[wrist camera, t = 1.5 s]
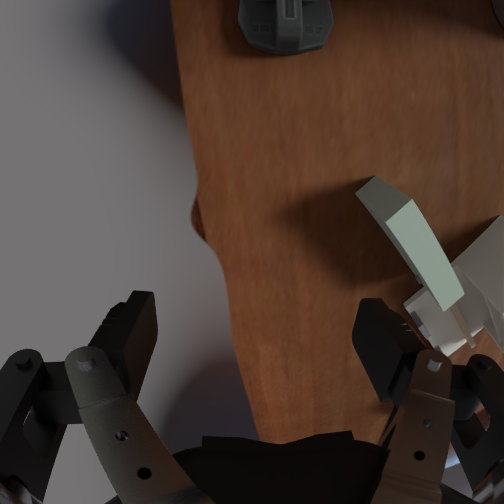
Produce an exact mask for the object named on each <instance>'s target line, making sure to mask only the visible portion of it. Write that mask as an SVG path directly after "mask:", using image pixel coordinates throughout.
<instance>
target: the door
mask: <svg viewBox="0 0 504 504" xmlns="http://www.w3.org/2000/svg"><path fill="white" fill-rule="evenodd" d="M355 194H356V196H357V197H358V198H359V199H360V201H361V202H362V203H363V204H364V206H365V207H366V208H367V210H368V211H369V212H370V213H371V215H372V216H373V217H374V219H375V220H376V221H377V223H378V224H379V225H380V227H381V228H382V229H383V231H384V232H385V233H386V235H387V236H388V237H389V239H390V240H391V242H392V243H393V244H394V246H395V247H396V249H397V250H398V251H399V253H400V254H401V256H402V257H403V259H404V260H405V261H406V263H407V264H408V266H409V267H410V269H411V270H412V272H413V273H414V274H415V275H416V276H415V279H416V280H417V281H418V283H419V284H420V283H422V284H423V285H424V287H425V288H426V289H427V291H428V292H429V293H430V294H431V296H432V297H433V298H434V300H435V301H436V302H437V304H438V305H439V306H440V308H441V309H442V310H443V312H445V311H446V310H447V309H448V308H449V307H450V306H452V305H453V304H454V303H455V302H456V301H457V300H459V299H460V298H461V297H462V296H463V295H464V294H465V293H464V291H463V289H462V287H461V285H460V283H459V281H458V278H457V276H456V274H455V272H454V270H453V269H452V267H451V265H450V263H449V261H448V259H447V257H446V255H445V253H444V252H443V250H442V248H441V246H440V244H439V242H438V241H437V239H436V237H435V235H434V234H433V232H432V230H431V229H430V227H429V225H428V224H427V222H426V220H425V219H424V217H423V215H422V214H421V212H420V211H419V209H418V207H417V206H416V204H415V203H414V201H413V200H412V199H411V198H410V197H408V196H407V195H405V194H404V193H402V192H401V191H399V190H398V189H396V188H394V187H393V186H391V185H390V184H388V183H386V182H385V181H383V180H382V179H380V178H378V177H377V176H374V177H373V178H372V179H371V180H370V181H369V182H367V183H366V184H365V185H364V186H363V187H362V188H360V189H359V190H358V191H357V192H356V193H355Z"/></svg>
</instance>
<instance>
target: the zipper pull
mask: <svg viewBox="0 0 504 504" xmlns="http://www.w3.org/2000/svg"><path fill="white" fill-rule="evenodd" d="M238 23H239V27H240V29H241V30H242V32H243V34H244V36H245V38H246V40H247V42H248V44H249V46H250V47H253V48H256V49H260V50H263V51H267V52H270V53H273V54H292V55H298V54H301V53H305V52H309V51H313V50H318V49H321V48H322V47H323V46H324V44H325V43H326V41H327V39H328V37H329V34H330V32H331V30H332V28H333V25H334V18H333V13H332V9H331V4H330V0H240V4H239V11H238Z"/></svg>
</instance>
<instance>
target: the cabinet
mask: <svg viewBox="0 0 504 504" xmlns="http://www.w3.org/2000/svg"><path fill="white" fill-rule="evenodd" d="M450 265H451V267H452V269H453V270H454V272H455V274H456V276H457V278H458V281H459V283H460V285H461V287H462V289H463V291H464V293H465V294H464V295H463V296H462V297H461V298H460V299H459V300H457V301H456V302H455V303H454V304H453V305H452V306H450V307H449V308H448V309H447V310H446V311H445V312H443V310H442V309H441V308H440V306H439V305H438V304H437V302H436V301H435V300H434V298H433V297H432V296H431V294H430V293H429V292H428V291H427V289H426V288H425V287H423V288H422V289H420V290H419V291H418V292H417V293H415V294H414V295H413V296H412V297H410V298H409V299H408V300H407V301H405V302H404V303H403V305H404V307H405V308H406V310H407V311H408V312H409V314H410V315H411V317H412V319H413V320H414V322H415V324H416V325H417V327H418V329H419V330H420V331H421V333H422V334H423V336H424V337H425V338H426V339H428V340H429V342H430V343H431V345H432V346H433V348H434V349H435V350H437V351H439V352H442V353H443V354H445V355H446V356H447V357H448V356H449V355H450V354H452V353H453V352H454V351H456V350H457V349H458V348H459V347H461V346H462V345H463V344H464V343H466V342H468V343H469V345H470V346H471V348H473V347H474V346H476V344H475V342H474V340H473V338H472V337H473V336H474V335H475V334H476V333H477V332H479V331H480V330H481V329H482V328H483V327H484V328H485V329H486V330H487V332H488V333H489V334H490V336H491V337H492V338H493V340H494V341H495V342H496V344H497V345H498V347H499V348H500V349H501V351H502V352H503V353H504V217H503V216H501V215H500V216H499V217H498V218H497V219H496V220H495V221H494V222H493V223H492V224H491V225H490V226H489V227H488V228H487V229H486V230H485V231H484V232H483V233H482V234H481V235H480V236H479V237H478V238H477V239H476V240H475V241H474V242H473V243H472V244H471V245H470V246H469V247H468V248H467V249H466V250H465V251H464V252H462V253H461V254H460V255H459V256H458V257H457V258H456V259H455V260H454V261H453V262H452V263H450Z"/></svg>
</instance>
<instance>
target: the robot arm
mask: <svg viewBox="0 0 504 504" xmlns="http://www.w3.org/2000/svg"><path fill="white" fill-rule="evenodd" d="M491 1H492V5H493V9H494V11H495V14H496V16H497V18H498V20H499V22H500V24H501V25H502V27H503V28H504V0H491ZM157 335H158V325H157V316H156V307H155V298H154V293H153V292H149V291H133V292H132V293H131V295H130V297H129V299H128V300H127V302H120V303H118V304H117V305H115V306H114V307H113V308H111V309H110V311H109V312H108V314H107V316H106V318H105V319H104V320H103V322H102V325H100V326H99V328H98V330H97V331H96V333H95V335H94V336H93V338H92V339H91V341H90V343H89V344H88V346H84V347H80V348H77V349H75V350H73V351H72V352H70V353H69V354H68V355H67V357H66V359H65V361H62V362H44V361H43V359H42V356H41V354H40V353H39V352H38V351H36V350H32V349H23V350H20V351H17V352H16V353H14V354H13V355H11V356H10V357H9V358H8V360H7V361H6V363H5V364H4V366H3V367H2V369H1V370H0V504H43V499H44V496H45V492H46V489H47V485H48V482H49V478H50V475H51V472H52V468H53V465H54V462H55V459H56V456H57V453H58V450H59V447H60V444H61V441H62V439H63V436H64V433H65V430H66V427H67V425H68V424H84V426H85V429H86V431H87V434H88V436H89V438H90V441H91V443H92V445H93V447H94V450H95V452H96V454H97V456H98V458H99V460H100V462H101V464H102V466H103V469H104V470H105V472H106V474H107V476H108V478H109V480H110V482H111V484H112V486H113V488H114V489H115V491H116V493H117V495H116V496H115V497H114V498H112V499H111V500H109V501H108V502H106V503H105V504H504V372H503V371H502V369H501V368H500V367H499V366H498V364H497V363H496V362H495V361H494V360H493V359H491V358H490V357H488V356H486V355H482V354H475V355H473V356H471V358H470V359H469V361H468V363H467V365H466V366H465V365H453V364H452V362H451V360H450V359H449V358H448V357H447V356H446V355H445V354H443V353H442V352H439V351H437V350H433V349H426V348H425V346H424V345H423V344H422V342H421V341H420V340H419V338H418V337H417V336H416V334H415V333H414V332H413V331H412V329H411V328H410V327H409V326H408V325H407V323H406V322H405V320H404V319H403V318H402V317H401V316H400V315H399V314H397V313H396V312H394V311H393V310H390V309H389V308H388V306H387V305H386V304H385V303H384V301H383V300H382V299H381V298H363V299H362V300H361V301H360V304H359V308H358V312H357V316H356V319H355V323H354V327H353V331H352V343H353V346H354V348H355V350H356V352H357V354H358V356H359V358H360V360H361V362H362V364H363V366H364V368H365V370H366V372H367V374H368V376H369V378H370V381H371V383H372V385H373V387H374V389H375V391H376V393H377V395H378V397H379V399H380V402H386V401H392V400H393V402H394V405H393V407H392V409H391V411H390V414H389V416H388V419H387V421H386V424H385V426H384V429H383V431H382V434H381V436H380V438H379V441H378V443H377V445H375V444H373V443H369V442H365V441H359V440H354V437H353V434H352V431H351V430H350V431H342V432H334V433H325V434H317V435H313V436H310V437H307V438H304V439H300V440H297V441H293V442H290V443H286V444H273V443H267V442H261V441H256V440H251V439H246V438H240V437H213V436H212V437H211V436H203V437H202V446H198V447H193V448H189V449H185V450H182V451H180V452H177V453H175V454H173V455H172V454H171V453H170V452H169V450H168V449H167V447H166V446H165V445H164V443H163V442H162V440H161V439H160V438H159V436H158V435H157V433H156V432H155V431H154V429H153V427H152V426H151V424H150V423H149V421H148V420H147V418H146V417H145V415H144V414H143V412H142V410H141V409H140V407H139V405H138V404H137V400H138V396H139V393H140V390H141V387H142V384H143V380H144V377H145V374H146V371H147V368H148V365H149V362H150V359H151V356H152V353H153V350H154V347H155V344H156V341H157ZM480 403H482V404H483V406H484V408H485V409H486V411H487V412H488V414H489V416H490V426H489V428H488V430H487V431H485V429H484V428H483V426H482V424H481V422H480V421H479V419H478V417H477V416H476V414H475V411H476V409H477V408H478V406H479V405H480ZM29 411H30V412H29ZM28 412H29V414H28ZM27 414H28V416H27ZM26 417H27V419H26ZM25 419H26V420H25ZM24 421H25V423H24ZM23 424H24V425H23ZM450 441H451V443H452V446H453V448H454V450H455V452H456V454H457V456H458V458H459V461H460V463H461V465H462V467H463V469H464V472H465V474H466V476H467V479H468V481H469V483H470V486H471V488H472V491H473V494H472V499H471V498H469V497H467V496H465V495H463V494H461V493H459V492H458V491H456V490H454V489H452V488H450V487H448V486H447V485H445V484H443V483H441V480H442V476H443V472H444V468H445V464H446V459H447V454H448V449H449V444H450Z"/></svg>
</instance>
